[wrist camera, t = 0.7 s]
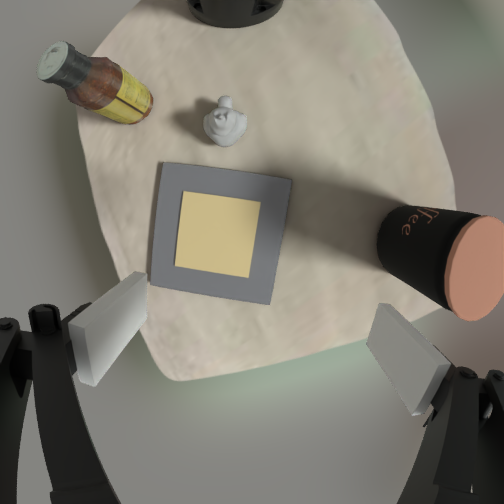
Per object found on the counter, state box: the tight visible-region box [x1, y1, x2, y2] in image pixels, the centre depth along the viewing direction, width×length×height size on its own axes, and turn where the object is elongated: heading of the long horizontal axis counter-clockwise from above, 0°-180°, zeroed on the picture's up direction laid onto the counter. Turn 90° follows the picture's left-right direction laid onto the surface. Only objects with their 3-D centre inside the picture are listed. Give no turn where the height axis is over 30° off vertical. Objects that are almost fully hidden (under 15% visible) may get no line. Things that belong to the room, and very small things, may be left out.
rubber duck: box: [203, 96, 247, 147], centre depth 31 cm, size 5×7×8 cm
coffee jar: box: [377, 205, 504, 321], centre depth 29 cm, size 11×11×18 cm
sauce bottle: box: [37, 41, 153, 124], centre depth 24 cm, size 7×6×20 cm
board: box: [150, 162, 292, 305], centre depth 37 cm, size 17×17×1 cm
